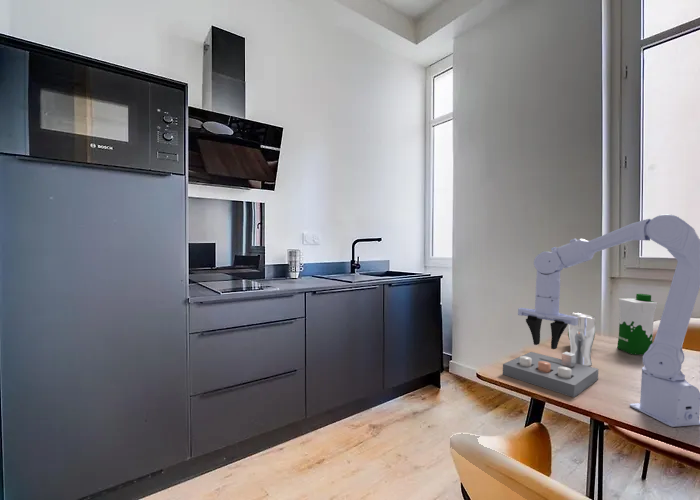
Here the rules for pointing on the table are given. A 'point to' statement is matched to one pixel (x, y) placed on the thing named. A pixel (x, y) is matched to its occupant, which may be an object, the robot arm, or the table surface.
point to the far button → (525, 361)
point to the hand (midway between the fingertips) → (545, 346)
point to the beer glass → (582, 338)
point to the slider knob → (568, 359)
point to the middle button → (544, 366)
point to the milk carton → (636, 324)
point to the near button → (564, 372)
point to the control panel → (552, 374)
